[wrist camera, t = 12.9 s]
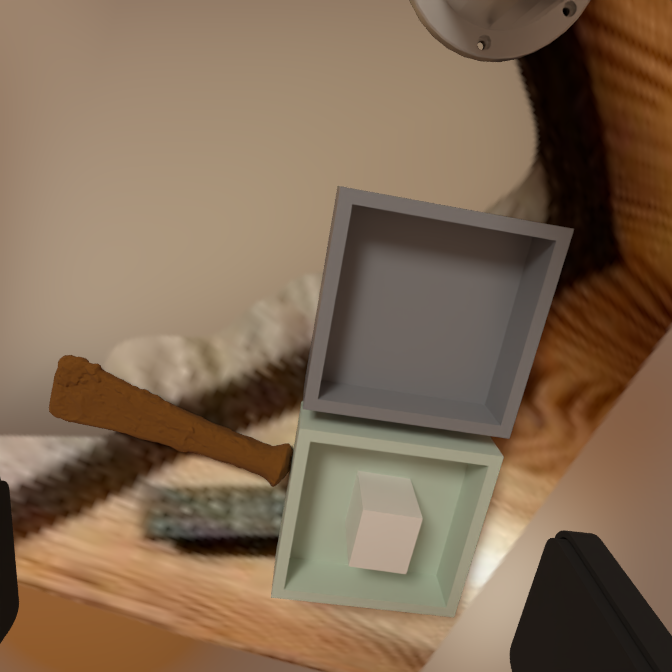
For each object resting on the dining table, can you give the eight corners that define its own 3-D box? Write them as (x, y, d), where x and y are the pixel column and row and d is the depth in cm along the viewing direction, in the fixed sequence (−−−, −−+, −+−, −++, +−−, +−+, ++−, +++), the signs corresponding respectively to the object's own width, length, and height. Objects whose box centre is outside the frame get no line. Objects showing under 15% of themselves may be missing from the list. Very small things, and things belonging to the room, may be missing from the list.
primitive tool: (50, 411, 39) (25, 433, 36) (62, 349, 37) (37, 365, 34) (284, 474, 41) (281, 499, 38) (304, 417, 40) (303, 439, 37)
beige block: (357, 470, 40) (363, 509, 35) (410, 478, 40) (422, 518, 35) (344, 521, 41) (348, 566, 36) (395, 529, 42) (406, 574, 37)
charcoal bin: (337, 186, 34) (340, 186, 30) (542, 223, 35) (574, 229, 31) (304, 383, 38) (302, 409, 34) (488, 411, 40) (509, 438, 35)
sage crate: (301, 401, 39) (299, 428, 35) (483, 427, 40) (503, 456, 36) (275, 556, 43) (270, 597, 39) (441, 575, 44) (454, 617, 40)
